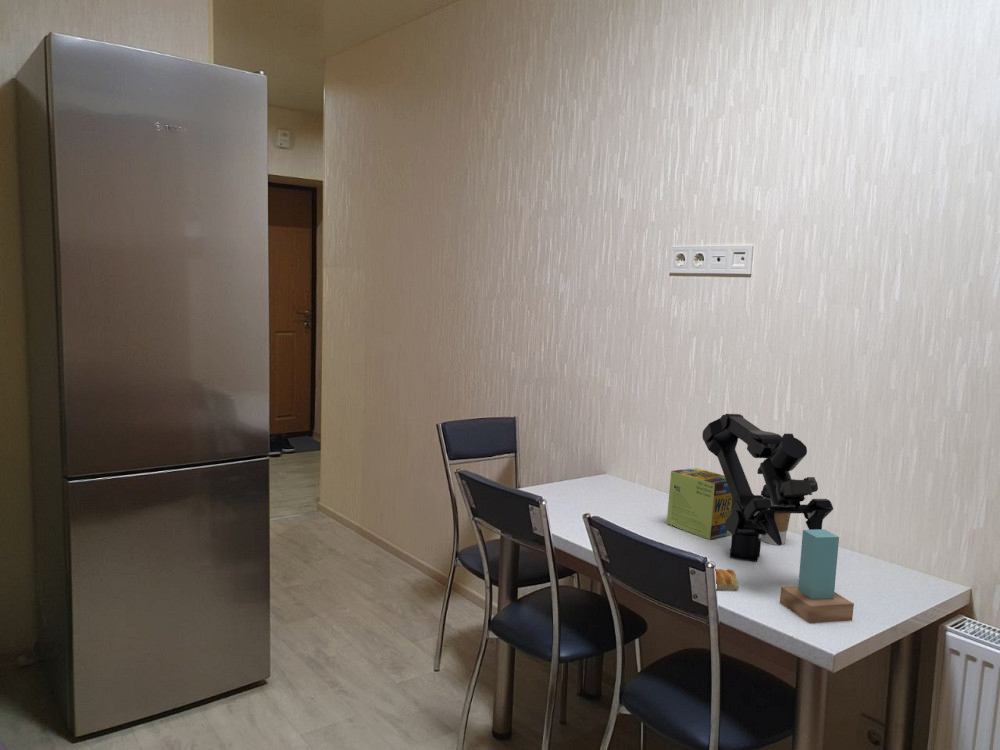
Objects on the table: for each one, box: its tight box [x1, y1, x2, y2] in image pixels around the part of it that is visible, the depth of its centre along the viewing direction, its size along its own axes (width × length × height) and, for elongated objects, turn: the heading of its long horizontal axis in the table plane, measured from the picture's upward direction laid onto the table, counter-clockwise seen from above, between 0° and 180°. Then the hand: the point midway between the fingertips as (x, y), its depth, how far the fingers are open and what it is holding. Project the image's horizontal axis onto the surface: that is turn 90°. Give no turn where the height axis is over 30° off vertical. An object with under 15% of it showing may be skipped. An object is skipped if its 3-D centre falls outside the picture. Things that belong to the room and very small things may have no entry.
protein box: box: [666, 467, 734, 541], centre depth 208 cm, size 10×15×16 cm
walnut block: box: [779, 585, 855, 624], centre depth 157 cm, size 10×10×4 cm
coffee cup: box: [760, 483, 792, 546], centre depth 201 cm, size 8×8×15 cm
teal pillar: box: [797, 528, 840, 599], centre depth 156 cm, size 5×5×13 cm
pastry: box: [714, 568, 739, 591], centre depth 169 cm, size 9×7×4 cm
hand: (800, 544), depth 163 cm, fingers open, 9 cm apart
